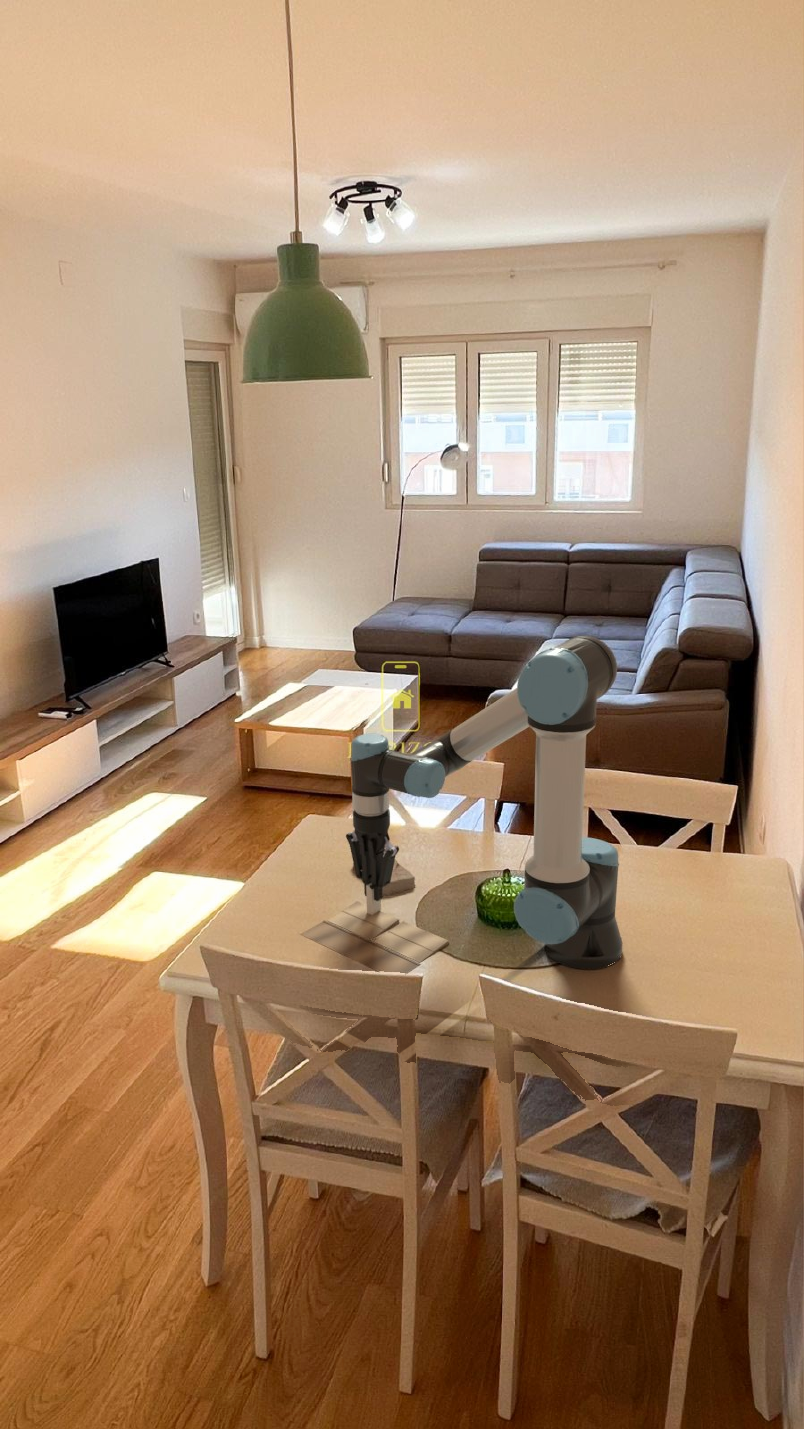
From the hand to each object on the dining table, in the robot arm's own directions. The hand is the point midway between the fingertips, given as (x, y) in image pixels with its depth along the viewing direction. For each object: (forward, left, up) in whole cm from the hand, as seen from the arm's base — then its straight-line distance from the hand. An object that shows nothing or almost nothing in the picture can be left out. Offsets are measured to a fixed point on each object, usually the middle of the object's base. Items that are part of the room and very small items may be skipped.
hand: (374, 911), depth 209 cm
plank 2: (-13, +4, -1) cm, 14 cm away
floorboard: (-7, +12, -2) cm, 14 cm away
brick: (+10, -14, -3) cm, 18 cm away
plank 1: (0, +4, -1) cm, 4 cm away
